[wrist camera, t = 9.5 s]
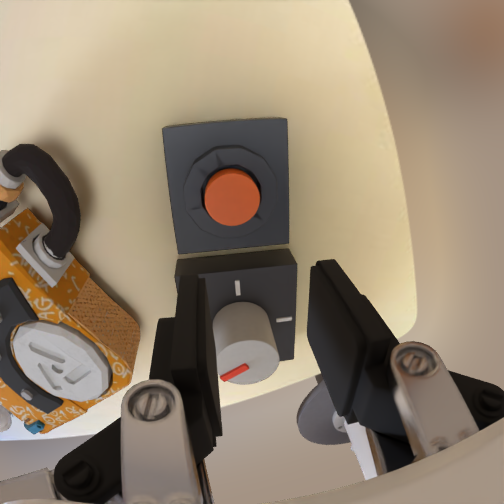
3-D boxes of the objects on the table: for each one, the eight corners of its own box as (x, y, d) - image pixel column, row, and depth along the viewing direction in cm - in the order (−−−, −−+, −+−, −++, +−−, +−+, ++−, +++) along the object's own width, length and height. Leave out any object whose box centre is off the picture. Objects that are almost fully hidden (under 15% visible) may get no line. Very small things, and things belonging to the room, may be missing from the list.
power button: (257, 215, 23) (261, 223, 22) (207, 219, 23) (207, 228, 21) (255, 166, 22) (258, 171, 20) (202, 170, 21) (202, 176, 20)
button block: (283, 233, 28) (294, 253, 24) (180, 243, 27) (176, 265, 24) (280, 117, 24) (293, 119, 20) (165, 126, 23) (158, 130, 19)
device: (-94, 330, 18) (-14, 123, 13) (-63, 294, 25) (43, 114, 20) (38, 448, 27) (209, 360, 22) (52, 402, 35) (207, 298, 30)
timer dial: (248, 291, 27) (257, 332, 22) (279, 327, 29) (291, 368, 24) (201, 320, 27) (201, 363, 23) (234, 352, 29) (240, 395, 25)
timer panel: (287, 340, 34) (294, 360, 31) (194, 350, 33) (194, 372, 30) (288, 248, 29) (297, 264, 26) (177, 259, 28) (174, 277, 25)
